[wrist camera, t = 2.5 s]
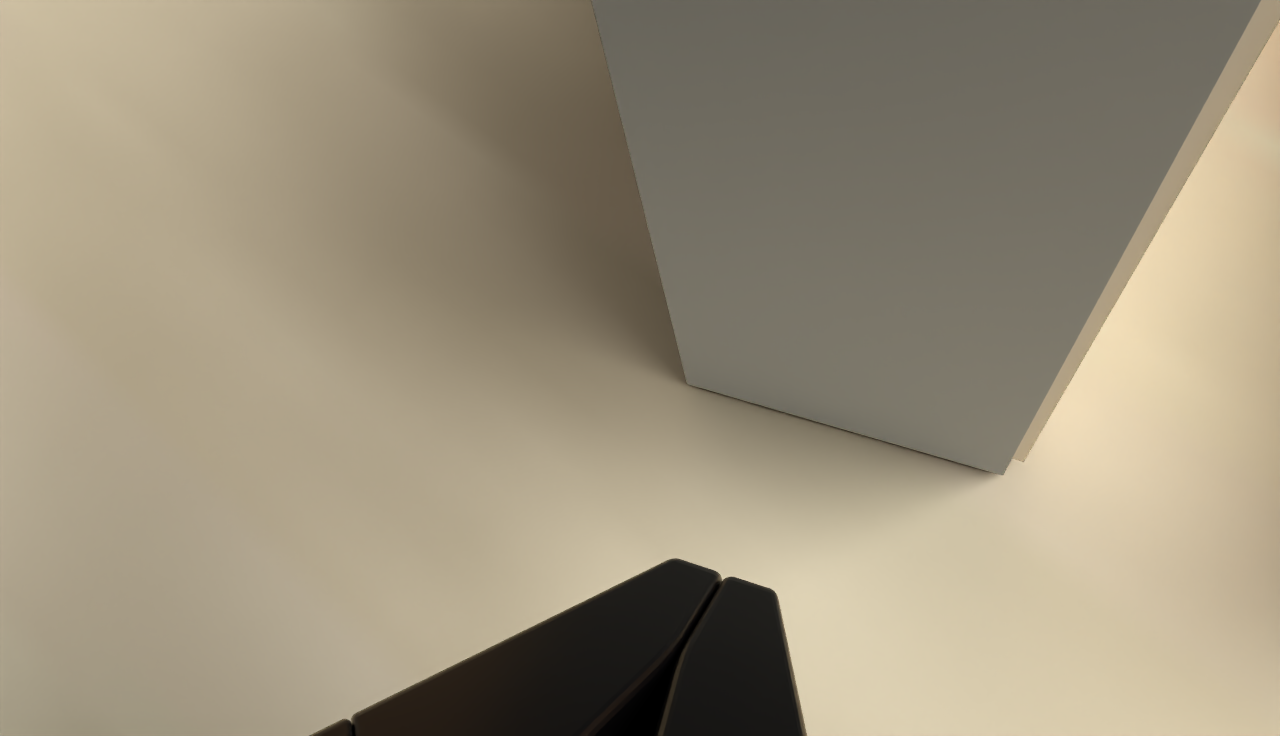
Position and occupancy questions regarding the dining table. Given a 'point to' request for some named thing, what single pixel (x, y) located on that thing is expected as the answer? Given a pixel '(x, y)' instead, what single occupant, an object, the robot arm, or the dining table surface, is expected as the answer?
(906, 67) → the boxed book
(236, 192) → the dining table surface
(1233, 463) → the dining table surface
